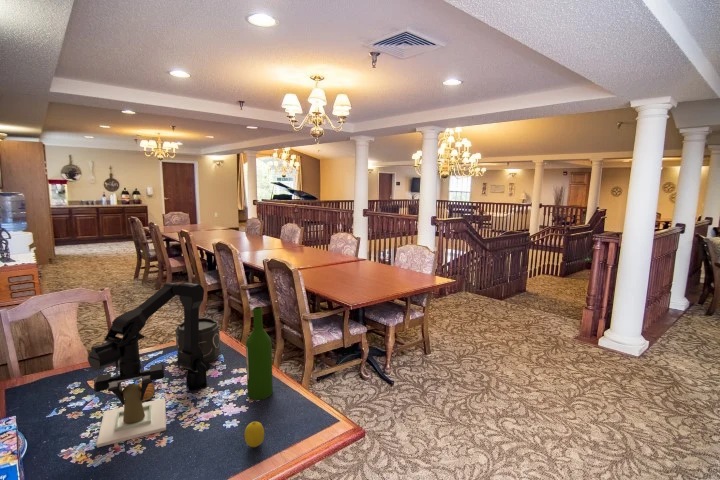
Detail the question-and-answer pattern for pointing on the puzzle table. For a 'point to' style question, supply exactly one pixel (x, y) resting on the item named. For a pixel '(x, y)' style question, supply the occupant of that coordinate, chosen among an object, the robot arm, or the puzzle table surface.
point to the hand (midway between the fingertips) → (132, 401)
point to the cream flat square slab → (120, 431)
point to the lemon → (254, 434)
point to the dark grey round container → (203, 338)
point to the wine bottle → (259, 360)
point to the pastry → (148, 391)
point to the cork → (132, 404)
